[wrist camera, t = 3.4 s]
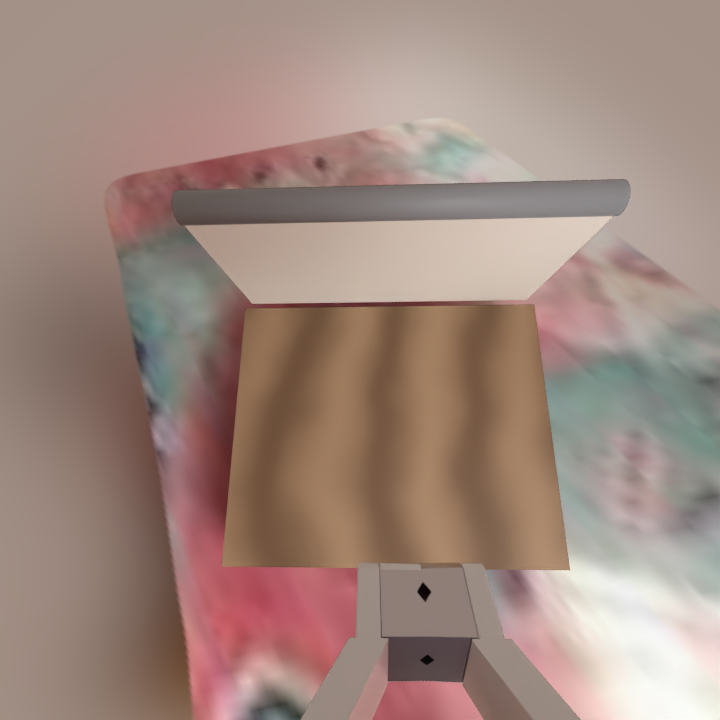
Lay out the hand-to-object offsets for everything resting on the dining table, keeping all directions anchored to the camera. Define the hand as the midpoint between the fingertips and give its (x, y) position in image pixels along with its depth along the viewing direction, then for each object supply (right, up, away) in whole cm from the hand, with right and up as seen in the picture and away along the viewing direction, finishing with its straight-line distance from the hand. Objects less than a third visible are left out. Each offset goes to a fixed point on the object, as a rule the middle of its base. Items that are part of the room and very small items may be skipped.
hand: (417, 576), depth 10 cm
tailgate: (+1, +10, +20) cm, 23 cm away
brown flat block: (+1, 0, +21) cm, 21 cm away
